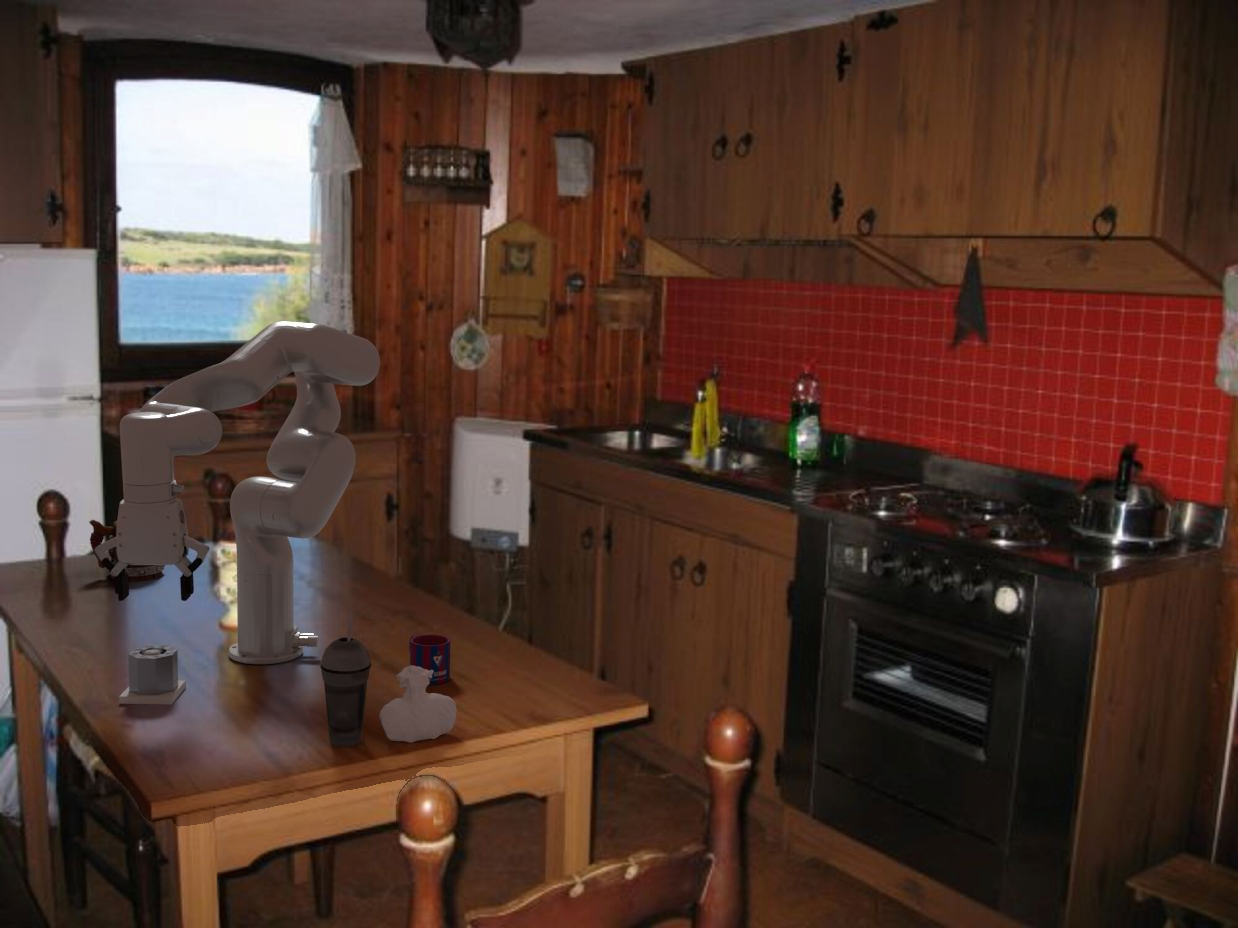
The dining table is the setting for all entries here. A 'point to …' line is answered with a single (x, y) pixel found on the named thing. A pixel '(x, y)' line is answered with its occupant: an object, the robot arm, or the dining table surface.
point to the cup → (431, 655)
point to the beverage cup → (345, 688)
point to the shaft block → (165, 699)
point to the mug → (133, 570)
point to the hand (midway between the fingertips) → (155, 598)
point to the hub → (153, 670)
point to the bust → (417, 709)
